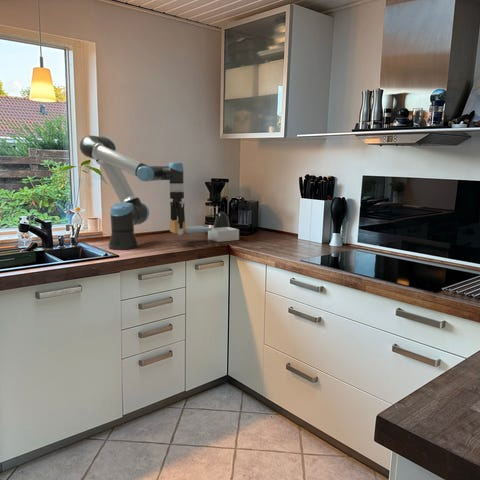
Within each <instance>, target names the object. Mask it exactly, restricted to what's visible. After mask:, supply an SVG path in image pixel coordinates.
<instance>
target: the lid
mask: <svg viewBox="0 0 480 480" xmlns="http://www.w3.org/2000/svg"><path fill="white" fill-rule="evenodd" d="M177 222H178V219H177V220H171V219H170V220H169V231H170V232H171V233H173V232H174V233H173V234H178V223H177ZM212 228H213V227H207V226H204V225H196V226H186V221H185V222H183V233H186V234H200V233H208V231H211V230H212Z"/></svg>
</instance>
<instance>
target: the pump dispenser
mask: <svg viewBox="0 0 480 480" xmlns="http://www.w3.org/2000/svg"><path fill="white" fill-rule="evenodd" d="M214 216H215V220H214V223H213V228H223V227H230V221H229V219H228V216H227V214H226V213H225V212H224V211H220V212H218V213H214ZM230 228H231V227H230Z"/></svg>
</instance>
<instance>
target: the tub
mask: <svg viewBox="0 0 480 480" xmlns="http://www.w3.org/2000/svg"><path fill="white" fill-rule="evenodd" d="M211 228H212V230H211V231H207V239H208V240H211V241H213V242H218V243H220V242H230V241H239V240H240V228H239V229H238V228H234V227H223V228H214V227H211Z"/></svg>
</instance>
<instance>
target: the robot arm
mask: <svg viewBox="0 0 480 480" xmlns="http://www.w3.org/2000/svg"><path fill="white" fill-rule="evenodd" d="M79 150H80V152H81V154H83V155H84V156H85V157H88V158H90V159H91V160H95V161H96V164H97V165H100V166H101V167H102V169H103V171H104V173H105V175H106V177H107V179H108V180H109V183H110V184H111V187H112V188H113V191H114V192H115V194H116V196H117V198H118V200H119V202H117V203H114V204H112V205H111V207H110V212H109V213H110V224H111V235H110V238H109V242H108V248H109V249H111V250H129V249H130V250H131V249H135V248H138V246H139V243H138V240H137V237H136V234H135V227H134V226H137V225H141V224H143V223H145V222H146V221H148V218H149V216H150V210H149V207H148V206H147V204H145V203H143V202H141V199H140V198H139V196H136V195H135V193H134V192H133V190H132V188H131V186H130V184H129V183H128V180H127V179H126V176H125V174H124V173H123V172H126V173H128V174H129V175H133V176H135V177H137V178H138V179H139V181H142V182H151V181H169V191H170V192H169V199H170V200H172V201H170V202H169V206H170V221H171V220H178V222H177V223H178V233H177V235H178V236H179V235H180V236H181V235H184V232H183V222H185V223H186V218H185V202H183V201H182V199H185V192H184V187H185V184H184V183H185V182H184V164H183V163H182V162H169V163H168V165H166V166H165V165H161V166H160V165H159V166H157V165H153V166H151V165H148V164H145V163H143V162H140V161H138V160H137V159H134V158H132V157H129V156H127V155H125V154H122V153H121V152H118V151H116V150H117V147H116V143H115V142H114V141H113V140H112V139H111V138H109V137H106V136H104V135H103V136H101V135H100V136H97V135H86V136H84V137H83V138H81V140H80V142H79ZM172 234H175V233H174V232H172Z"/></svg>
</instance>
